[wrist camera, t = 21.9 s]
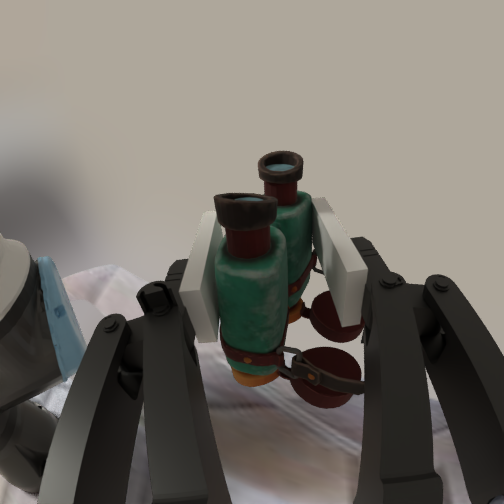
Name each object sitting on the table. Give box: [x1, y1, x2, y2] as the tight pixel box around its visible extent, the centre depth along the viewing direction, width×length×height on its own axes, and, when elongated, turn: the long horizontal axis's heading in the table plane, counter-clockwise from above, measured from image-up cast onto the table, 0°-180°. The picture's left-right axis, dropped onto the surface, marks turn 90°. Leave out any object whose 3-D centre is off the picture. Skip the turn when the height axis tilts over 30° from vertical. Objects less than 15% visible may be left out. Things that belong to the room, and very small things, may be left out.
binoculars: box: [214, 151, 365, 409], centre depth 13 cm, size 9×11×10 cm
